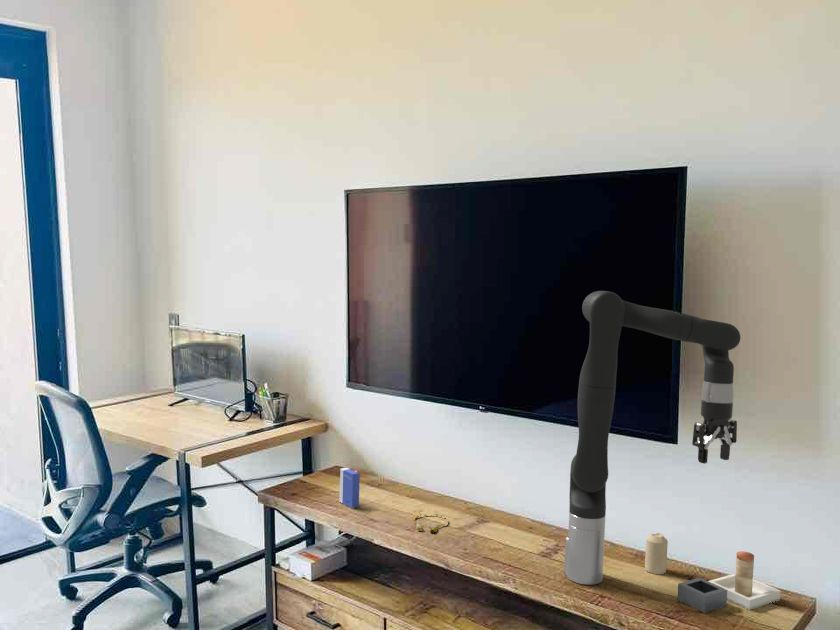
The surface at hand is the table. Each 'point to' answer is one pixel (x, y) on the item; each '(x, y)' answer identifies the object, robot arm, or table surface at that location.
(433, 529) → the beaded necklace
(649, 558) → the candle
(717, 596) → the socket block
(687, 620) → the table surface
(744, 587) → the pin
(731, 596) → the tray
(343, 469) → the walkman
